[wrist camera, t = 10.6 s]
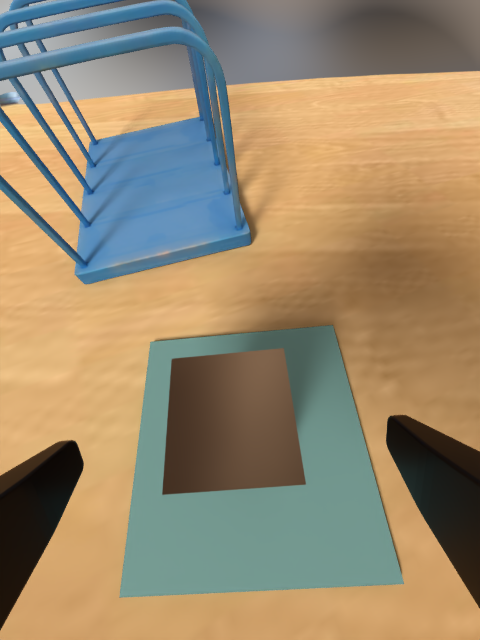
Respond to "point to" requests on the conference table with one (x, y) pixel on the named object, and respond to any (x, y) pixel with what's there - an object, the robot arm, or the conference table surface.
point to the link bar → (231, 424)
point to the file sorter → (133, 148)
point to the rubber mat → (262, 490)
